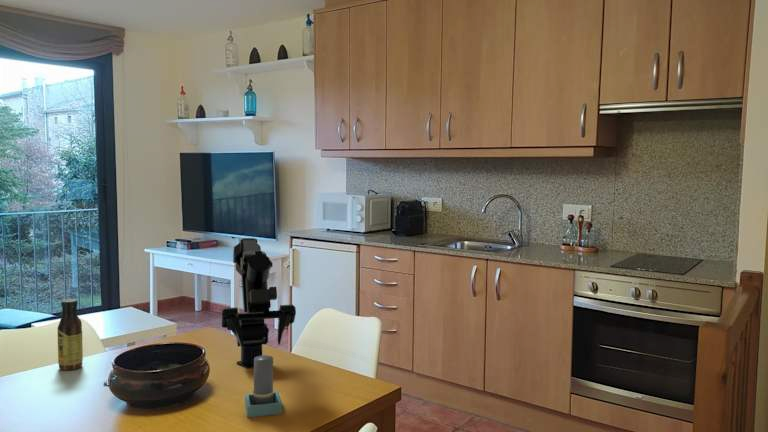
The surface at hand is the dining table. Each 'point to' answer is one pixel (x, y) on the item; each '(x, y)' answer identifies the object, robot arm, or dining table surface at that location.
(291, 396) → the dining table surface
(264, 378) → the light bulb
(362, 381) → the dining table surface
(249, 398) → the frame
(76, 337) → the sauce bottle
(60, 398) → the dining table surface
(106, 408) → the dining table surface
